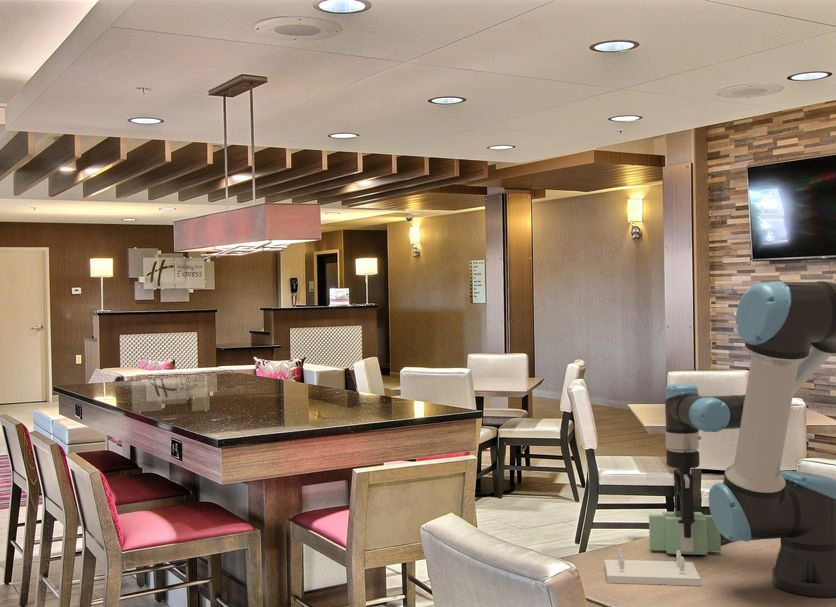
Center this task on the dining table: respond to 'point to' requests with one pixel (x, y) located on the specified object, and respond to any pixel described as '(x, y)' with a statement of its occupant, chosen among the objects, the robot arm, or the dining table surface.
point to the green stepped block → (669, 533)
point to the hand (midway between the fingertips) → (684, 546)
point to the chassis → (651, 571)
